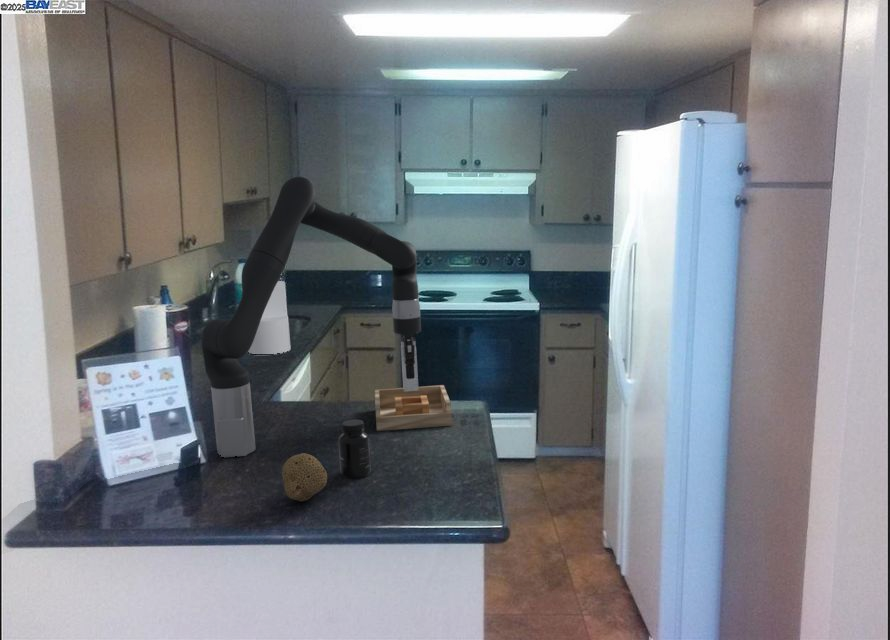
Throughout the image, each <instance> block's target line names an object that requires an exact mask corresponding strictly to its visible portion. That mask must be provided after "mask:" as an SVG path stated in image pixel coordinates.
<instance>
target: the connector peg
mask: <svg viewBox="0 0 890 640" xmlns="http://www.w3.org/2000/svg"><path fill="white" fill-rule="evenodd" d="M404 350H405V348H404ZM400 353H401V370H402V388H403V389H404V392H407V391H419V389H418V387H419V374H418V373H419V372H418V359H417V358H418V356H417V346H416V345H415V354H416V355H415V356H414V360H415V364H414V376H415V377H414V378H413V379H407V378H406V366H405V357H403V349H402V346H401V345H400ZM407 360H412V357H409V358H407Z"/></svg>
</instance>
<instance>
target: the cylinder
mask: <svg viewBox="0 0 890 640" xmlns="http://www.w3.org/2000/svg"><path fill="white" fill-rule="evenodd" d="M287 307H288V304H287V294H286V282H285V281H284V280H278V282H277V284H276V286H275V288H274V290H273V292H272V294H271V297H270V299H269V301H268V303H267V306H266V308H265V310H264V313H263V315H262V318H261V321H260V324H259V327H258V329H257V332H256V335H255V338H254V341H253V343H252V345H251V347H250V349H249V351H248V352H249V353H252V354H274V355H278V354H277V353H280V354H283V352H284V353H287V351H288V352H290V351H291V349H292V347H291V336H290V323H289V316H288V308H287ZM248 352H247V353H248Z"/></svg>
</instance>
